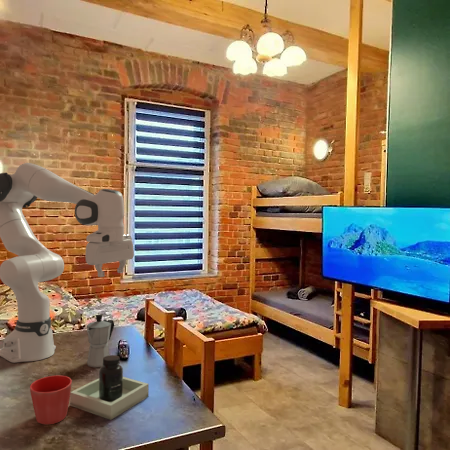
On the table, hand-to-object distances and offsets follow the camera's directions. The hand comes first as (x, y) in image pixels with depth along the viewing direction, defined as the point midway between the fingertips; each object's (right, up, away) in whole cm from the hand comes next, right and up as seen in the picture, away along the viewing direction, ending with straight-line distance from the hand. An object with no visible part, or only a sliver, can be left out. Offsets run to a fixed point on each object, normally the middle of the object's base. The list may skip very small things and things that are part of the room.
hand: (111, 274), depth 147 cm
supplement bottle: (+6, -34, -22) cm, 41 cm away
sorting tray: (+6, -35, -22) cm, 42 cm away
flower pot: (-8, -36, -32) cm, 49 cm away
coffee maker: (-6, -34, +8) cm, 35 cm away
